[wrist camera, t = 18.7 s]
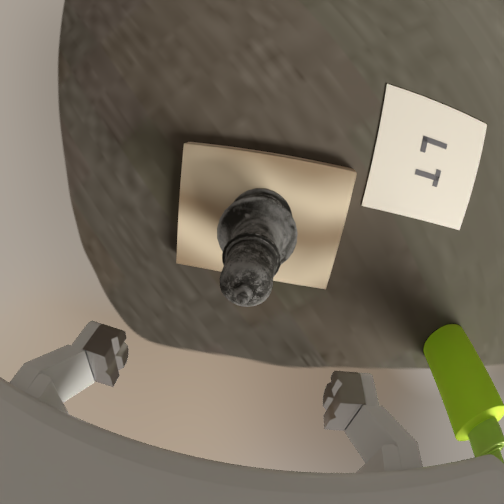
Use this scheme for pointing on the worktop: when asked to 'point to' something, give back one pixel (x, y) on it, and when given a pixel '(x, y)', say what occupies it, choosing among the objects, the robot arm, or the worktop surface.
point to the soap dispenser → (466, 390)
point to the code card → (424, 159)
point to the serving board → (268, 177)
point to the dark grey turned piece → (254, 244)
